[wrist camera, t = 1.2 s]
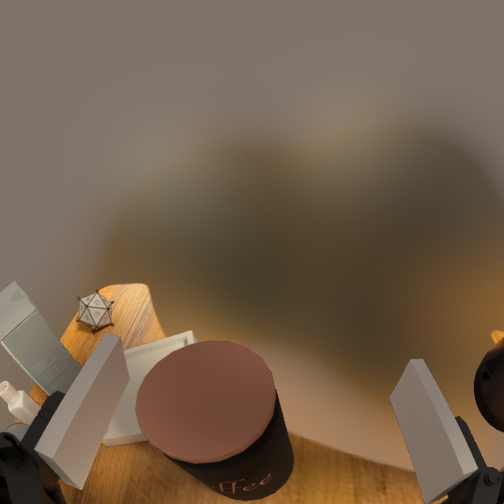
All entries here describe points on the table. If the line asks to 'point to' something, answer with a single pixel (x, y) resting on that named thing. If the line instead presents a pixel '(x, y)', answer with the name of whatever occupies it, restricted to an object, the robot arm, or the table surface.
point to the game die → (95, 311)
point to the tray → (139, 365)
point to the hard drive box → (34, 342)
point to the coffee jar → (218, 418)
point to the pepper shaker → (19, 403)
